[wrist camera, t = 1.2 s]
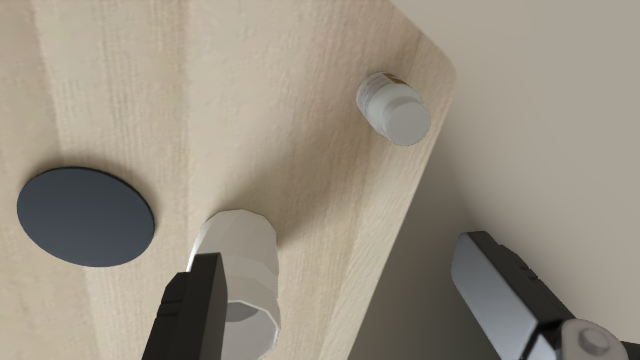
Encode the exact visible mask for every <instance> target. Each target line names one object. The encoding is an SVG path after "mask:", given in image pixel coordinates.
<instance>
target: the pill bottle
mask: <svg viewBox="0 0 640 360" xmlns="http://www.w3.org/2000/svg"><path fill="white" fill-rule="evenodd" d="M356 101H357V105H358V108H359V110H360V111H361V113H362V114H363V115H364V117H365V118H366V119H367V121H368V122H369V123H370V125H371V126H372V127H373V129H374V130H375V131H376V132H377V133H378V134H379V135H381V136H383V137H386V138H389V139H390V141H392V142H393V143H394V144H396V145H400V146H410V145H413V144H415V143H417V142H419V141H420V140H421V139H423V138H424V136H425V135H426V134H427V132H428V131H429V128H430V125H431V116H430V113H429V111H428V109H427V108H426V107H425V106H424V105H423V101H422V98H421V96H420V95H419V93H418V92H417V91H416V90H415V89H413V88H412V87H410V86H409V85H407V84H406V83H405V82H403V81H402V80H400V79H399V78H397V77H396V76H394V75H393V74H391V73H387V72H377V73H374V74H372V75H370V76H368V77H367V78H366V79H365V80H364V81H363V82H362V83H361V85H360V86H359V89H358V92H357V97H356Z"/></svg>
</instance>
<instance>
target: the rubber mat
mask: <svg viewBox="0 0 640 360" xmlns="http://www.w3.org/2000/svg"><path fill="white" fill-rule="evenodd" d="M17 214H18V218H19V221H20V223H21V226H22V227H23V229H24V231H25V232H26V233H27V235H28V236H29V237H30V238H31V239H32V240H33V241H34V242H35V243H36V244H37V245H38V246H39V247H41V248H42V249H43V250H45V251H46V252H48V253H50V254H51V255H53V256H55V257H57V258H59V259H62V260H64V261H67V262H70V263H73V264H77V265H82V266H88V267H110V266H116V265H121V264H124V263H127V262H129V261H131V260H133V259H135V258H137V257H138V256H140V255H141V254H142V253H143V252H144V251H145V250H146V249H147V248H148V246H149V244H150V243H151V241H152V238H153V235H154V230H155V222H154V217H153V214H152V211H151V209H150V207H149V205H148V203H147V202H146V201H145V199H144V198H143V197H142V196H141V195H140V193H139V192H138V191H136V190H135V189H134V188H133V187H132V186H130V185H129V184H128V183H126V182H125V181H123V180H121V179H119V178H118V177H115V176H113V175H111V174H109V173H106V172H103V171H100V170H96V169H91V168H85V167H60V168H55V169H51V170H48V171H45V172H43V173H41V174H39V175H37V176H36V177H34V178H33V179H31V180H30V181H29V182H28V183H27V184H26V185H25V186H24V188H23V189H22V191H21V192H20V195H19V197H18V201H17Z"/></svg>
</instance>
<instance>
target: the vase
mask: <svg viewBox="0 0 640 360" xmlns="http://www.w3.org/2000/svg"><path fill="white" fill-rule="evenodd" d="M276 238H277V233H276V231H275V230H274V228H273V227H272V226H271V225H270V223H269V222H268V221H267V220H266V218H265V217H264V216H261V215H259V214H256V213H253V212H250V211H247V210H244V209H238V210H230V211H221V212H218V213H217V214H216V215H214V216H213V217H211V218H210V219H209V220H207V221H206V222H205V223H203V224H202V226H201V227H200V230H199V232H198V235H197V238H196V241H195V243H194V246H193V250H192V253H191V256H190V260H189V264H188V268H187V272H190V270H191V266H192V262H193V259H194V256H195V254H202V253H215V252H220V253H221V256H222V261H223V266H224V272H225V277H226V283H227V290H228V305H227V314H226V322H225V330H224V338H223V346H222V354H221V360H260V359H262V358H263V357H264V356H266V355H267V354H268V353H270V352H271V351H272V350H273V349H275V348H276V345H277V341H278V337H279V333H280V329H281V317H280V309H279V306H278V302H277V298H278V274H279V261H278V255H277V246H276Z"/></svg>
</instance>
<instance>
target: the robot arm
mask: <svg viewBox="0 0 640 360" xmlns="http://www.w3.org/2000/svg"><path fill="white" fill-rule="evenodd" d="M451 275H452V279H453V282H454V283H455V285H456V287H457V288H458V290H459V292H460V293H461V295H462V296H463V298H464V300H465V301H466V303H467V305H468V306H469V308H470V309H471V311H472V312H473V314H474V316H475V317H476V319H477V321H478V322H479V324H480V325H481V327H482V329H483V330H484V332H485V333H486V335H487V337H488V338H489V340H490V341H491V343H492V345H493V346H494V348H495V349H496V351H497V353H498V354H499V356H500V357H501V359H502V360H640V344H635V343H630V342H624V341H619V340H618V339H617V338H616V337H615V336H614V335H613V334H612V333H610V332H609V331H608V330H606V329H605V328H603V327H601V326H599V325H597V324H595V323H593V322H590V321H587V320H583V319H577V318H576V317H574V315H573V314H572V313H571V312H570V311H569V310H568V309H567V308H566V307H565V305H564V304H563V303H562V302H561V301H560V300H559V299H558V298H557V297H556V296H555V295H554V294H553V293H552V291H551V290H550V289H549V288H548V287H547V286H546V285H545V284H544V283H543V282H542V281H541V280H540V279H538V276H537V275H536V274H535V273H534V272H533V271H532V270H531V269H529V268H528V266H527V264H526V263H525V262H524V261H523V260H522V259H521V258H520V257H519V256H518V255H517V254H516V253H514V252H513V251H511V250H510V249H508V248H506V247H505V246H503V245H498V244H497V242H496V241H495V240H494V239H493V238H492V237H491V236H490V235H489V234H488V233H487V232H485V231H477V232H464V233H461V234H460V236H459V239H458V242H457V246H456V249H455V253H454V257H453V260H452V264H451ZM227 305H228V290H227V283H226V277H225V272H224V266H223V261H222V256H221V253H220V252H215V253H202V254H195V256H194V259H193V262H192V266H191V270H190V272H180V273H177V274H176V275H175V276H174V278H173V279H172V280H171V281H170V282H169V284H168V285H167V286H166V288H165V291H164V294H163V297H162V300H161V305H160V306H159V309H158V312H157V318H155V321H154V324H153V327H152V330H151V333H150V336H149V339H148V342H147V345H146V348H145V351H144V354H143V357H142V359H141V360H221V354H222V346H223V338H224V330H225V322H226V314H227Z"/></svg>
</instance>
